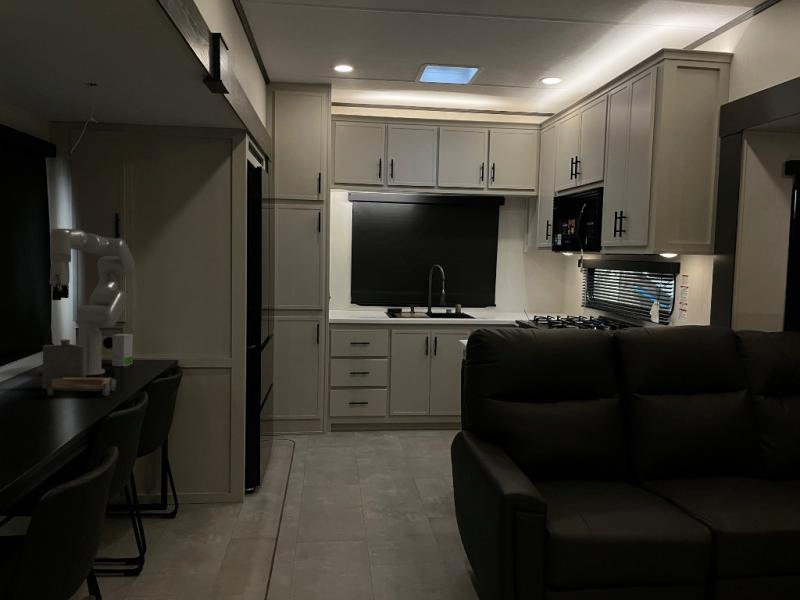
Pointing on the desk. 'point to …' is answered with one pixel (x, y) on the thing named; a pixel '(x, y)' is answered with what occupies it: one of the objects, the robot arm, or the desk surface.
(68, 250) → the robot arm
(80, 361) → the grey upright notched slab
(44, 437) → the desk surface
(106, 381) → the dolly
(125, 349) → the skincare box
